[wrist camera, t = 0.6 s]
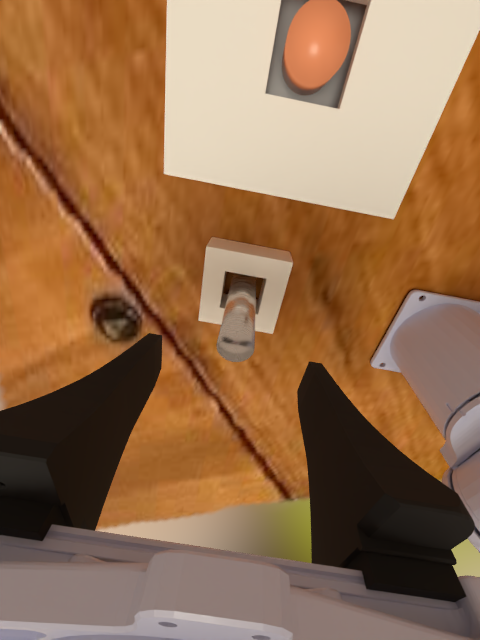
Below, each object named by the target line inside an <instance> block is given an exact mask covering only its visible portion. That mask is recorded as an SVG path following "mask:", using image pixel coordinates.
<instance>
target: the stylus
mask: <svg viewBox="0 0 480 640" xmlns="http://www.w3.org/2000/svg"><path fill="white" fill-rule="evenodd" d="M255 308H256V277H254V276H249V275H243V274H238V273H234V274H233V276H232V280H231V284H230V289H229V293H228V298H227V302H226V306H225V311H224V315H223V319H222V324H221V328H220V332H219V337H218V341H217V350H218V352H219V354H220V355H221V356H222V357H223V358H225V359H226V360H229V361H232V362H240V361H244V360H246V359H248V358H249V357H250V356H251V355H252V354H253V352H254V341H255Z"/></svg>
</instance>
